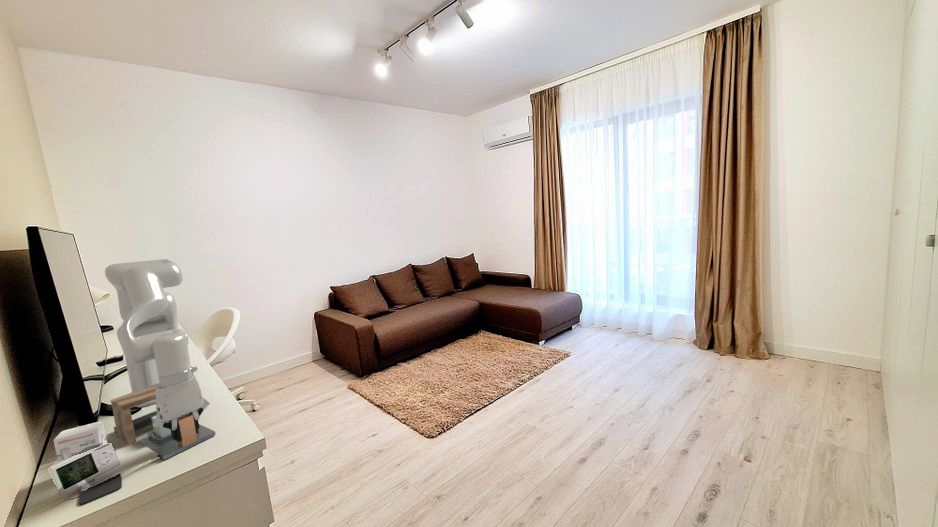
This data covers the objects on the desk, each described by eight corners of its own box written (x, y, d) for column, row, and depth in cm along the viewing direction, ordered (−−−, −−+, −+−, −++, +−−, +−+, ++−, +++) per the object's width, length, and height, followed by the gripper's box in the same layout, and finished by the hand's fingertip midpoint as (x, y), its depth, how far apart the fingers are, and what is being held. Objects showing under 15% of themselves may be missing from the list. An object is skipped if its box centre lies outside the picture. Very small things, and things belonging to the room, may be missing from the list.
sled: (139, 444, 109) (133, 416, 108) (189, 421, 120) (184, 396, 119) (163, 460, 100) (157, 429, 99) (215, 434, 111) (210, 407, 110)
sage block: (154, 435, 111) (151, 417, 110) (177, 425, 116) (174, 408, 115) (162, 440, 108) (159, 421, 107) (186, 429, 113) (183, 411, 112)
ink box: (60, 482, 94) (50, 440, 93) (68, 472, 98) (59, 431, 97) (105, 468, 99) (97, 427, 97) (111, 459, 103) (103, 420, 101)
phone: (120, 462, 100) (121, 486, 90) (120, 465, 100) (122, 489, 90) (81, 477, 95) (78, 505, 84) (81, 480, 95) (79, 508, 84)
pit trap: (115, 435, 115) (113, 427, 115) (175, 411, 129) (174, 403, 128) (120, 439, 113) (118, 430, 112) (181, 414, 126) (179, 406, 126)
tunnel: (118, 440, 112) (110, 399, 111) (183, 413, 127) (176, 377, 125) (130, 448, 107) (122, 406, 105) (196, 419, 121) (189, 381, 120)
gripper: (202, 364, 113) (211, 419, 115) (133, 387, 98) (145, 449, 101) (214, 367, 109) (223, 424, 111) (144, 392, 95) (156, 456, 97)
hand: (186, 435), depth 106 cm, fingers closed on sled, 3 cm apart
